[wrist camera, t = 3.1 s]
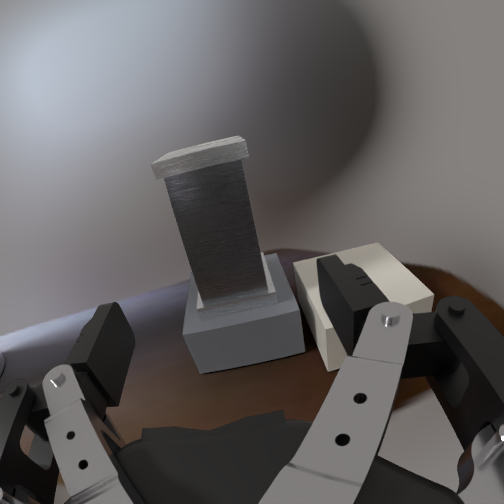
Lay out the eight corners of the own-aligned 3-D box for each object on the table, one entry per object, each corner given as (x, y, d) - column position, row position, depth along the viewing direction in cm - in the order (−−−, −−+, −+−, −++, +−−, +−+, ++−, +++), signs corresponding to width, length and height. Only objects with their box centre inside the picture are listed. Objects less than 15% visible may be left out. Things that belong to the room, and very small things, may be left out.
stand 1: (200, 373, 21) (182, 334, 19) (203, 306, 29) (191, 272, 28) (305, 351, 21) (299, 309, 20) (282, 289, 29) (276, 252, 28)
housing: (200, 320, 21) (150, 164, 16) (203, 275, 27) (168, 152, 22) (278, 303, 21) (245, 140, 16) (264, 262, 27) (238, 135, 22)
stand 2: (327, 371, 19) (325, 329, 17) (298, 300, 27) (292, 262, 25) (426, 337, 19) (434, 294, 17) (377, 279, 27) (377, 242, 26)
